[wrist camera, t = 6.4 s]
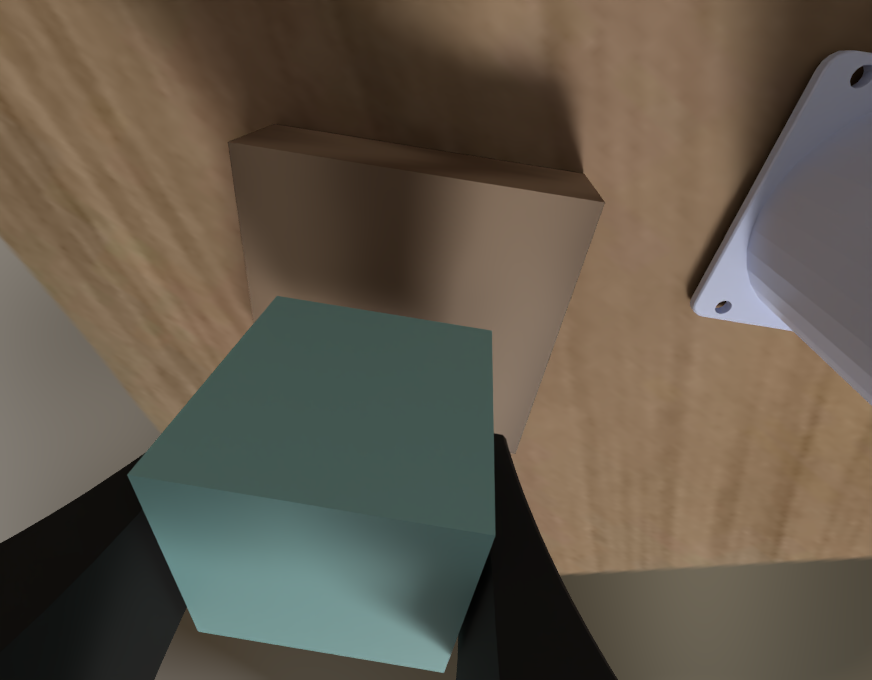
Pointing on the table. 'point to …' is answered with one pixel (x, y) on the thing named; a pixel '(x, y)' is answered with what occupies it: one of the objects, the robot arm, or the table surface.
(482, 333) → the teal cube
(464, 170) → the walnut base block
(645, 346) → the table surface
